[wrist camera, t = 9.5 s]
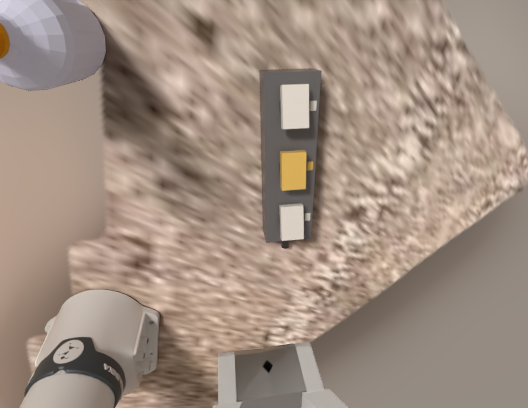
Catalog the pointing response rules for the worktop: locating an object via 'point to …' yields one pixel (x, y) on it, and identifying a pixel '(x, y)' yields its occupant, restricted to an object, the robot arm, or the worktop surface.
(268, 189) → the power strip
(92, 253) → the worktop surface
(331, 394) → the robot arm
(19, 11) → the soap bottle
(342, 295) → the worktop surface
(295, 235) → the block
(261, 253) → the worktop surface
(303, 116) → the plate
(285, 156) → the block
